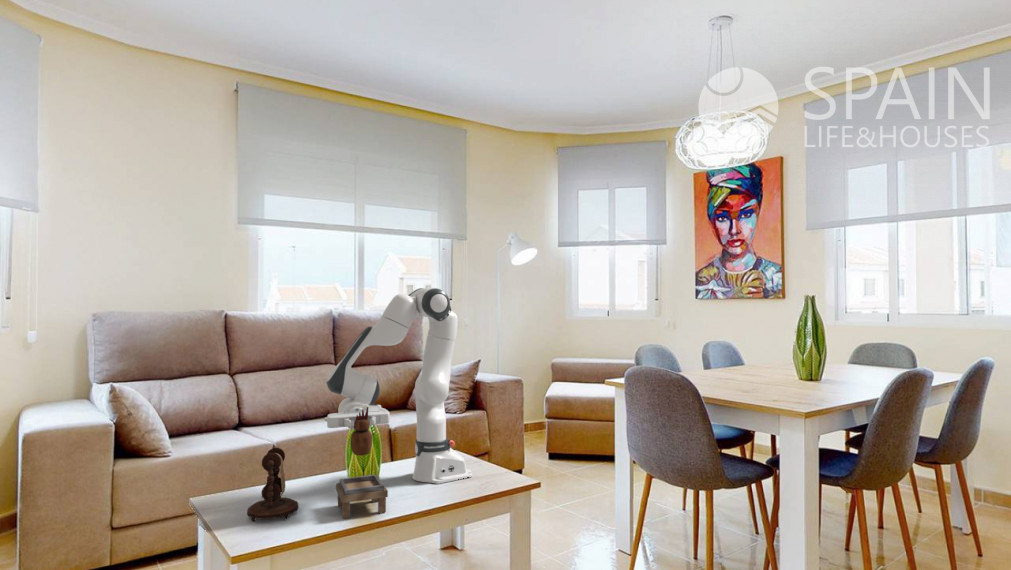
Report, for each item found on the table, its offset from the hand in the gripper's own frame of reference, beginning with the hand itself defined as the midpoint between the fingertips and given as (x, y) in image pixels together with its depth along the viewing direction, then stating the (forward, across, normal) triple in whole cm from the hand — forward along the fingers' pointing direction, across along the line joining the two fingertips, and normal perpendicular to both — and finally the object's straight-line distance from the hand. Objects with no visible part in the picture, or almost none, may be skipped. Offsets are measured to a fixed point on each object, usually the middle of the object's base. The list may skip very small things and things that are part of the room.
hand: (362, 423), depth 184 cm
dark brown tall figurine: (-7, -26, +28) cm, 39 cm away
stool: (-1, 0, +27) cm, 27 cm away
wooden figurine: (-1, 0, +10) cm, 10 cm away
